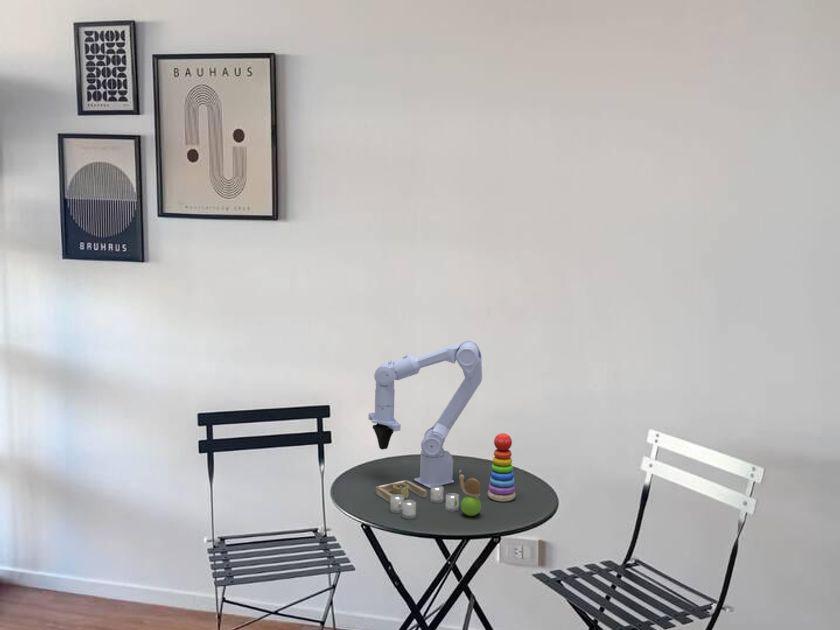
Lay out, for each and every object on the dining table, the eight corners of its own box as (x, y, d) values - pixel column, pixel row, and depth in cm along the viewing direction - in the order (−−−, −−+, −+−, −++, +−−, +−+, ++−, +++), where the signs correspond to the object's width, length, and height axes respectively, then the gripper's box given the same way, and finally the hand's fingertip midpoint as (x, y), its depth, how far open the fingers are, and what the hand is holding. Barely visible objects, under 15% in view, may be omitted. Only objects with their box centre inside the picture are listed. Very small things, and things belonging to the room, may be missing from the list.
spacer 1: (398, 507, 221) (398, 493, 221) (406, 511, 218) (406, 497, 218) (387, 509, 219) (388, 495, 218) (395, 514, 216) (395, 499, 216)
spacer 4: (453, 505, 223) (453, 491, 223) (461, 510, 220) (461, 496, 220) (442, 508, 221) (443, 494, 221) (450, 512, 218) (451, 498, 218)
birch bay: (406, 486, 237) (406, 479, 236) (426, 497, 229) (426, 490, 228) (374, 493, 230) (374, 486, 230) (394, 505, 222) (394, 498, 222)
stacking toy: (518, 494, 233) (521, 432, 230) (511, 504, 225) (514, 439, 223) (492, 490, 236) (495, 428, 233) (484, 499, 228) (486, 435, 225)
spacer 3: (437, 497, 229) (438, 484, 228) (445, 501, 226) (446, 488, 225) (427, 500, 227) (428, 486, 226) (435, 504, 224) (435, 490, 223)
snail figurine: (461, 509, 221) (462, 467, 219) (483, 513, 219) (485, 470, 217) (454, 516, 216) (455, 473, 214) (476, 520, 214) (478, 477, 212)
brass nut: (403, 491, 233) (403, 481, 232) (412, 496, 229) (412, 486, 229) (388, 495, 230) (389, 485, 229) (397, 500, 226) (397, 489, 226)
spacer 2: (410, 512, 217) (410, 498, 217) (418, 517, 214) (418, 503, 214) (399, 515, 215) (399, 501, 215) (407, 520, 212) (407, 505, 212)
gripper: (360, 400, 242) (359, 444, 245) (386, 411, 231) (385, 457, 233) (380, 397, 247) (379, 440, 249) (406, 408, 235) (405, 453, 237)
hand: (383, 448), depth 241 cm, fingers closed
